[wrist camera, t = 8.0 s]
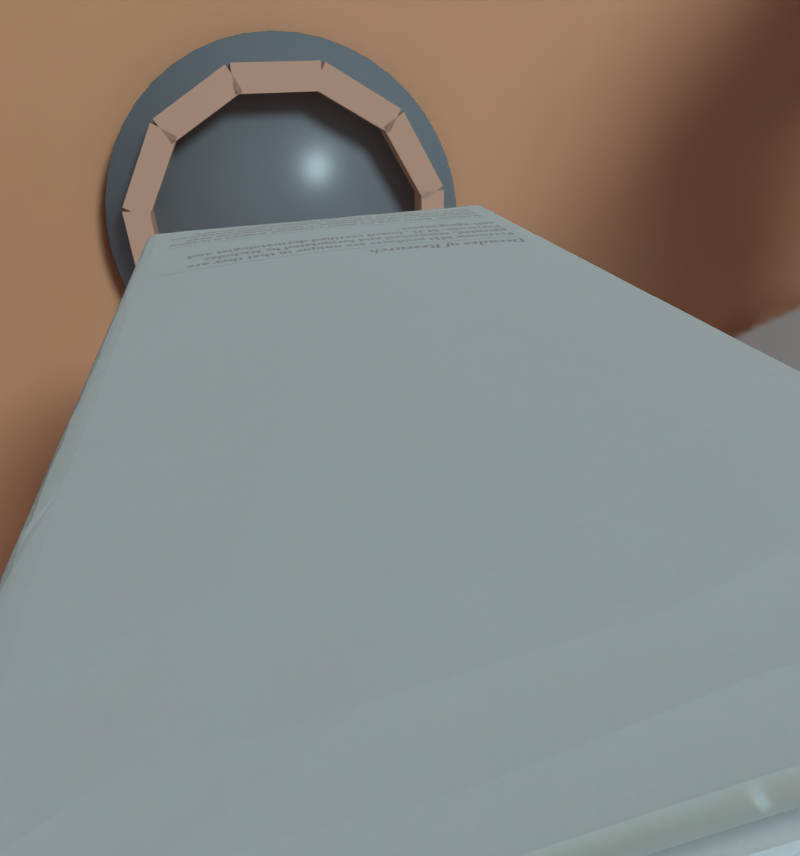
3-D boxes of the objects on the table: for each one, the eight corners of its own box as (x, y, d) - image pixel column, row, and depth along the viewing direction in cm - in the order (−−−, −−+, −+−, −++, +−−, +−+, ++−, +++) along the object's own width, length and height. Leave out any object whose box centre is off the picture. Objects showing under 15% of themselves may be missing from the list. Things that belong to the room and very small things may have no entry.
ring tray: (453, 29, 25) (471, 25, 23) (447, 362, 33) (460, 379, 31) (60, 35, 22) (45, 31, 20) (155, 399, 30) (150, 420, 28)
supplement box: (138, 226, 12) (-451, 1258, 2) (486, 199, 14) (1414, 629, 3) (207, 516, 16) (176, 1396, 5) (475, 470, 17) (869, 1088, 7)
